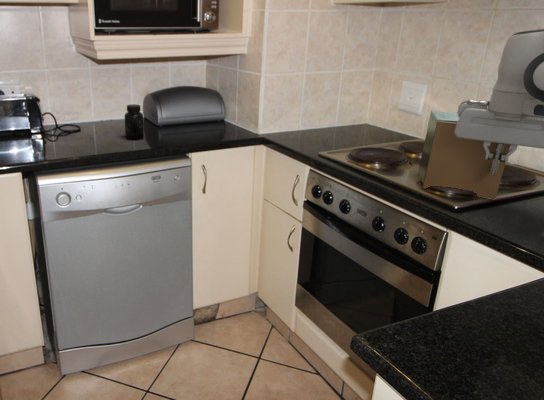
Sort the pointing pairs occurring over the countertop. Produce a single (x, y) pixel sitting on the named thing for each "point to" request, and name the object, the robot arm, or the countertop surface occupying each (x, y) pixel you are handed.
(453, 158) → the door
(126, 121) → the supplement bottle
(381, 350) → the countertop surface
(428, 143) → the valve cabinet
